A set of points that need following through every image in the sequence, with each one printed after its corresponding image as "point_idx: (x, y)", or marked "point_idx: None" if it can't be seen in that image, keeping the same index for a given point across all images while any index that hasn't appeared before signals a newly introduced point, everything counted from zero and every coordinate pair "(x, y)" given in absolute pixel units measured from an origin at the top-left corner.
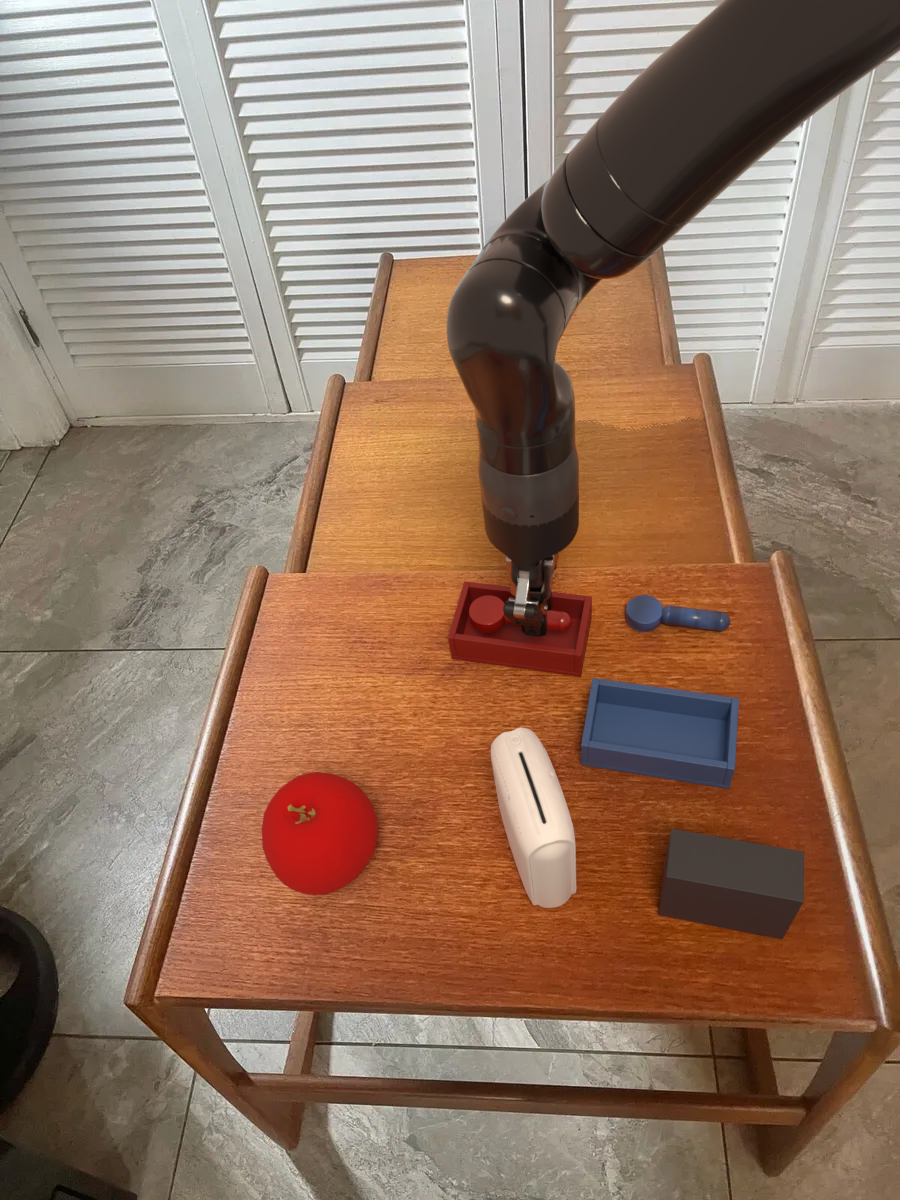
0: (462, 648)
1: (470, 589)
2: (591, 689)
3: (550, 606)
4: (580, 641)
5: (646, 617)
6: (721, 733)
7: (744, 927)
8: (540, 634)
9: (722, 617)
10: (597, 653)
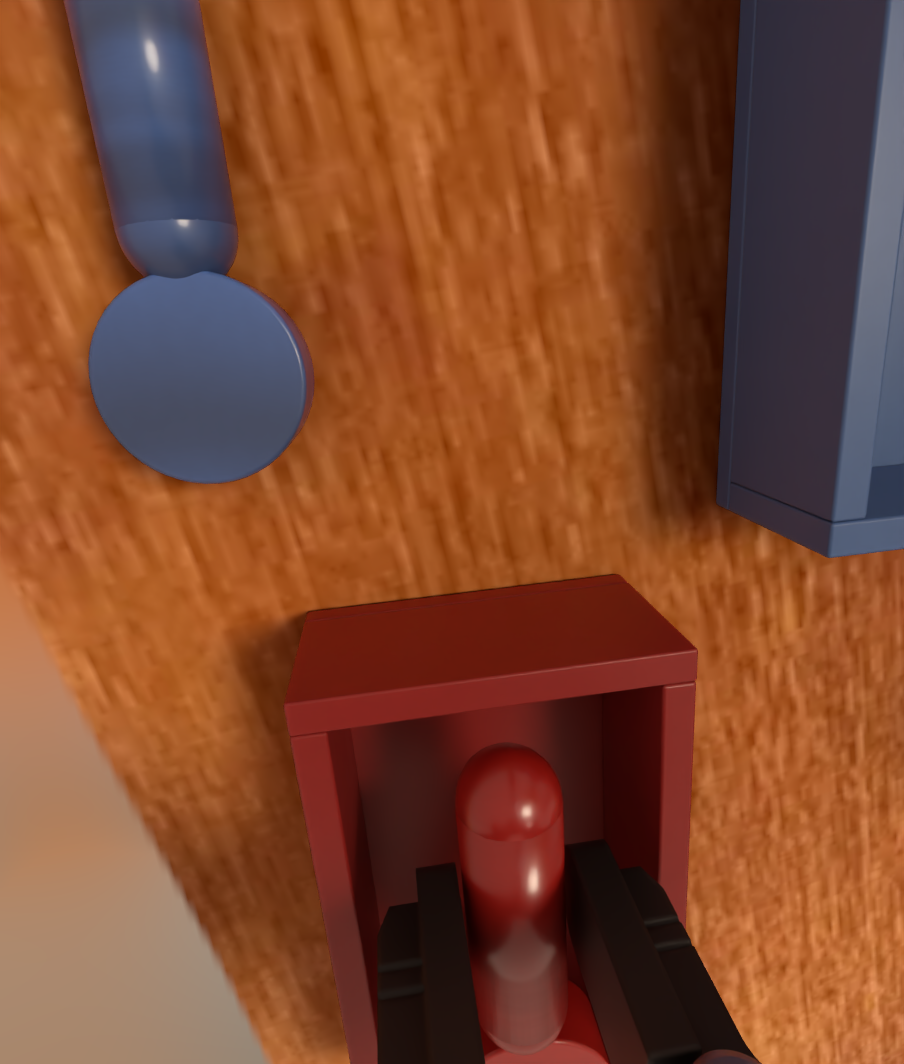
0: None
1: None
2: (898, 546)
3: (460, 900)
4: (612, 677)
5: (256, 358)
6: None
7: None
8: (649, 882)
9: None
10: (486, 539)
